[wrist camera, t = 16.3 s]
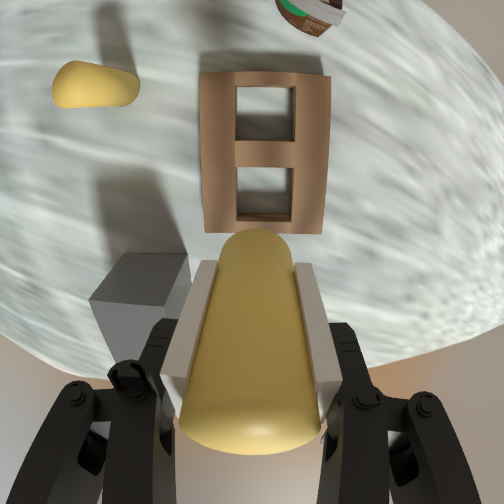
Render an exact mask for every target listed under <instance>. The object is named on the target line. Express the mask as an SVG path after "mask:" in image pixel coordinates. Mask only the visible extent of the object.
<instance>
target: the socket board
mask: <svg viewBox="0 0 504 504" xmlns="http://www.w3.org/2000/svg"><path fill="white" fill-rule="evenodd" d="M237 87H278V88H293V114H292V140H276V139H237ZM330 116H331V76H323V75H314V74H304V73H290V72H267V71H237V72H214V73H201V74H199V117H200V154H201V177H202V196H203V213H204V228H205V233H237V232H240V231H242V230H245V229H250V228H261V229H266V230H269V231H272V232H274V233H283V234H322V225H323V216H324V206H325V195H326V184H327V171H328V157H329V139H330ZM237 167H278V168H291V178H290V199H289V214H277V213H238V191H237Z"/></svg>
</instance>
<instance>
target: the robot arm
mask: <svg viewBox="0 0 504 504" xmlns="http://www.w3.org/2000/svg"><path fill="white" fill-rule="evenodd" d="M217 270H218V261H217V260H201V262H200V265H199V267H198V270H197V272H196V275H195V277H194V280H193V283H192V285H191V288H190V290H189V293H188V296H187V298H186V301H185V304H184V306H183V309H182V312H181V315H180V317H179V319H170V318H161V319H160V320H159V321H158V322H157V323H156V324H155V325H154V326H153V328H152V330H151V332H150V335H149V338H148V339H147V342H146V346H144V348H143V351H142V353H141V355H140V358H139V360H133V359H129V360H123V361H121V362H118V363H116V364H115V365H114V366H113V367H112V368H111V369H110V370H109V372H108V374H107V376H108V378H109V380H110V381H111V383H112V385H113V386H114V388H112V389H100V390H93V389H92V387H91V386H90V384H88V383H86V382H85V381H73V382H71V383H69V384H67V385H66V386H65V387H64V388H63V390H62V391H61V392H60V394H59V396H58V397H57V399H56V401H55V402H54V405H53V406H52V408H51V409H50V412H49V413H48V415H47V417H46V419H45V420H44V422H43V424H42V426H41V428H40V430H39V431H38V433H37V435H36V437H35V439H34V441H33V443H32V445H31V447H30V449H29V451H28V453H27V455H26V457H25V459H24V462H23V464H22V466H21V468H20V470H19V472H18V475H17V477H16V479H15V481H14V484H13V486H12V489H11V491H10V494H9V496H8V499H7V502H6V504H97V502H98V499H99V496H100V493H101V490H102V488H103V492H102V504H176V482H175V429H174V424H173V418H174V414H175V413H176V416H177V418H178V419H179V415H180V411H181V406H182V402H183V398H184V394H185V390H186V389H187V387H188V384H189V380H190V376H191V371H192V367H193V363H194V359H195V355H196V351H197V347H198V343H199V339H200V335H201V331H202V327H203V323H204V319H205V315H206V311H207V307H208V304H209V300H210V296H211V292H212V288H213V285H214V281H215V277H216V273H217ZM294 276H295V281H296V287H297V292H298V298H299V303H300V309H301V314H302V320H303V326H304V332H305V338H306V344H307V350H308V356H309V362H310V369H311V375H312V382H313V389H314V391H315V393H316V395H317V399H318V406H319V413H320V420H321V424H322V423H323V422H324V420H325V418H326V419H327V426H328V428H327V430H326V431H325V433H324V435H323V437H322V439H321V441H320V443H322V444H323V443H324V447H323V457H322V466H321V475H320V483H319V490H318V497H317V504H389V488H390V492H391V496H392V500H393V503H394V504H481V500H480V497H479V494H478V491H477V488H476V485H475V482H474V480H473V476H472V473H471V470H470V468H469V465H468V463H467V460H466V457H465V455H464V452H463V450H462V447H461V446H460V443H459V440H458V438H457V435H456V433H455V431H454V429H453V427H452V424H451V422H450V420H449V418H448V416H447V413H446V411H445V409H444V407H443V405H442V403H441V401H440V400H439V399H438V397H437V396H435V395H434V394H432V393H429V392H426V391H423V392H418V393H416V394H414V395H413V396H412V397H411V398H410V400H408V399H399V398H392V397H388V396H385V395H383V394H382V392H381V391H380V390H379V389H378V388H376V387H374V386H373V384H372V382H371V379H370V377H369V373H368V370H367V367H366V364H365V361H364V358H363V355H362V352H361V349H360V346H359V343H358V340H357V337H356V335H355V332H354V330H353V329H352V328H351V327H350V326H349V325H348V324H347V323H346V322H345V323H328V320H327V316H326V313H325V309H324V306H323V302H322V299H321V295H320V292H319V288H318V285H317V281H316V278H315V275H314V271H313V268H312V265H311V263H295V265H294Z"/></svg>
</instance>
